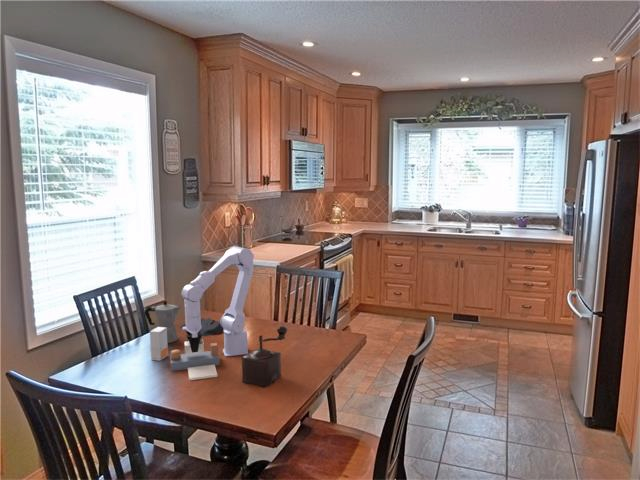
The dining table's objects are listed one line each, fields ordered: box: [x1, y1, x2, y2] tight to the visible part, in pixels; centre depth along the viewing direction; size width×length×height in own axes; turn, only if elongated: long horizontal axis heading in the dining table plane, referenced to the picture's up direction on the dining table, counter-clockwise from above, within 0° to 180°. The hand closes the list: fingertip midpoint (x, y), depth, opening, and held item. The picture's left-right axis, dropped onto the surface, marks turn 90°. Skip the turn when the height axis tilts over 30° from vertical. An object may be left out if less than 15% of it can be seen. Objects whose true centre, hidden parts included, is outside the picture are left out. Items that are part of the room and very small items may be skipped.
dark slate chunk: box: [179, 317, 224, 337], centre depth 232 cm, size 15×22×5 cm
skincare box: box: [149, 326, 169, 362], centre depth 195 cm, size 6×4×12 cm
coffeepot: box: [143, 300, 182, 344], centre depth 215 cm, size 15×9×18 cm, turn 103°
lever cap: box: [183, 338, 205, 355], centre depth 188 cm, size 7×5×4 cm
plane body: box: [169, 342, 221, 372], centre depth 189 cm, size 18×8×7 cm, turn 108°
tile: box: [187, 364, 218, 381], centre depth 181 cm, size 10×10×1 cm
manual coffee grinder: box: [241, 325, 288, 388], centre depth 176 cm, size 16×11×18 cm
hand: (194, 349), depth 189 cm, fingers closed on lever cap, 5 cm apart
